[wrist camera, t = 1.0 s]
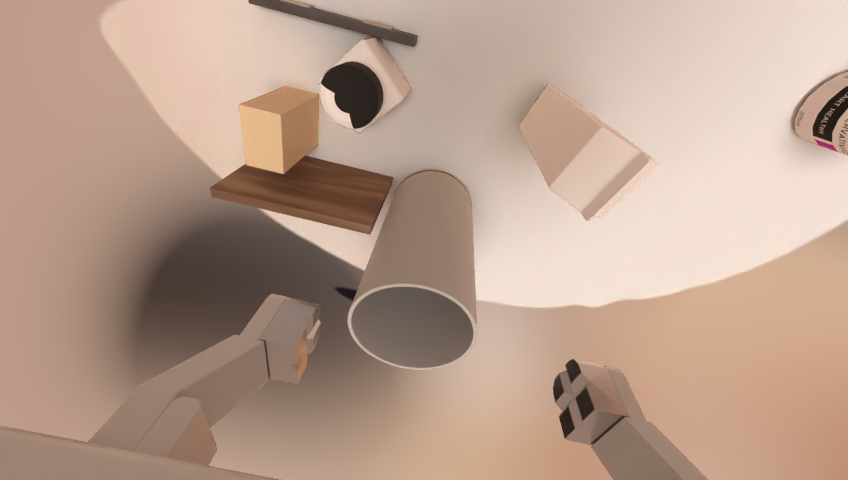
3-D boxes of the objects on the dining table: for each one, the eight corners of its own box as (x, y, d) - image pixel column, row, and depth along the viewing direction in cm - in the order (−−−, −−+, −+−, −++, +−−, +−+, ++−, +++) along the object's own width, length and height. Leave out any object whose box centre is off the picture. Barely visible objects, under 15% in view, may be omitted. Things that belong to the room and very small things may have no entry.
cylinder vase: (388, 170, 48) (334, 282, 28) (472, 167, 46) (478, 284, 26) (398, 237, 55) (360, 366, 35) (471, 237, 54) (475, 372, 33)
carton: (286, 136, 47) (244, 164, 38) (284, 85, 43) (237, 103, 34) (318, 144, 47) (283, 174, 38) (318, 94, 43) (280, 114, 34)
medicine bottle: (378, 34, 38) (348, 40, 28) (412, 88, 41) (396, 110, 31) (336, 71, 41) (296, 89, 31) (371, 119, 44) (345, 149, 34)
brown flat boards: (259, -9, 37) (167, -21, 25) (417, 33, 38) (397, 40, 26) (270, 154, 49) (212, 196, 37) (391, 184, 49) (370, 234, 38)
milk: (517, 126, 43) (554, 205, 25) (548, 82, 39) (616, 137, 21) (553, 148, 44) (614, 239, 26) (586, 107, 40) (682, 180, 22)
